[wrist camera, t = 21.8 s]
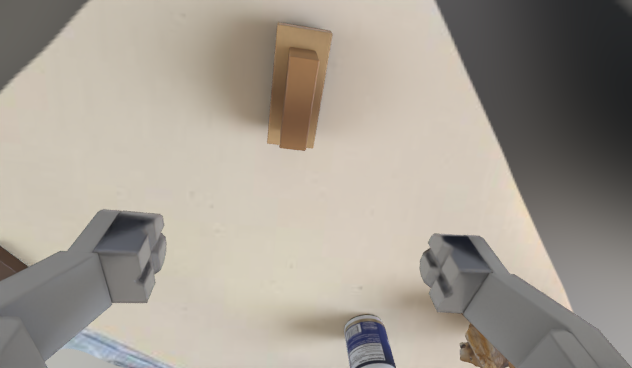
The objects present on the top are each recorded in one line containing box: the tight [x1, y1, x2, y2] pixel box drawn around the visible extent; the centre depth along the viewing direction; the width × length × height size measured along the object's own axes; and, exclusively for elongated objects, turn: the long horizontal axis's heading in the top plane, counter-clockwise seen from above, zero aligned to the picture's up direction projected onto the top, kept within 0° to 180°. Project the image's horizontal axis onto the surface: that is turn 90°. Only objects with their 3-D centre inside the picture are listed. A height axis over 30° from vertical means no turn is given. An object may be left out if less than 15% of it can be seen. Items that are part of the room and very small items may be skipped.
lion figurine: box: [460, 313, 515, 368], centre depth 40 cm, size 15×5×9 cm, turn 56°
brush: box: [267, 22, 332, 151], centre depth 23 cm, size 8×4×6 cm, turn 171°
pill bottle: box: [344, 315, 396, 368], centre depth 39 cm, size 5×5×10 cm
